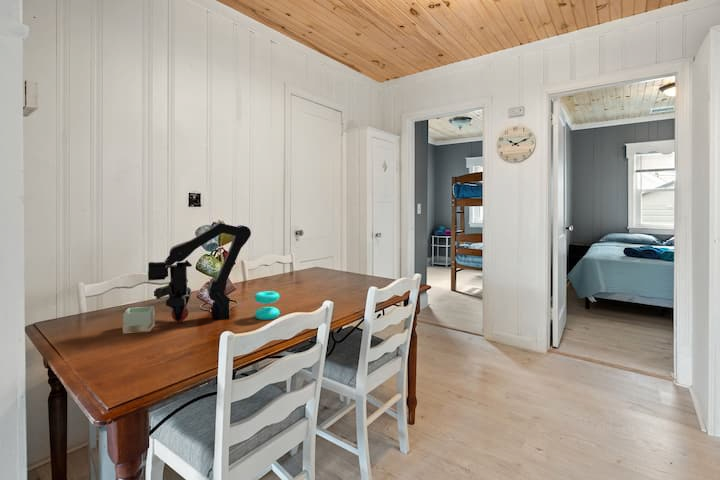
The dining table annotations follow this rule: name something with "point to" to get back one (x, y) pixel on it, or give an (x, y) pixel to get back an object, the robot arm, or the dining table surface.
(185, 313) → the onion
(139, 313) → the pale green open box
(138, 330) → the base block
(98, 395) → the dining table surface
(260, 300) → the donuts
